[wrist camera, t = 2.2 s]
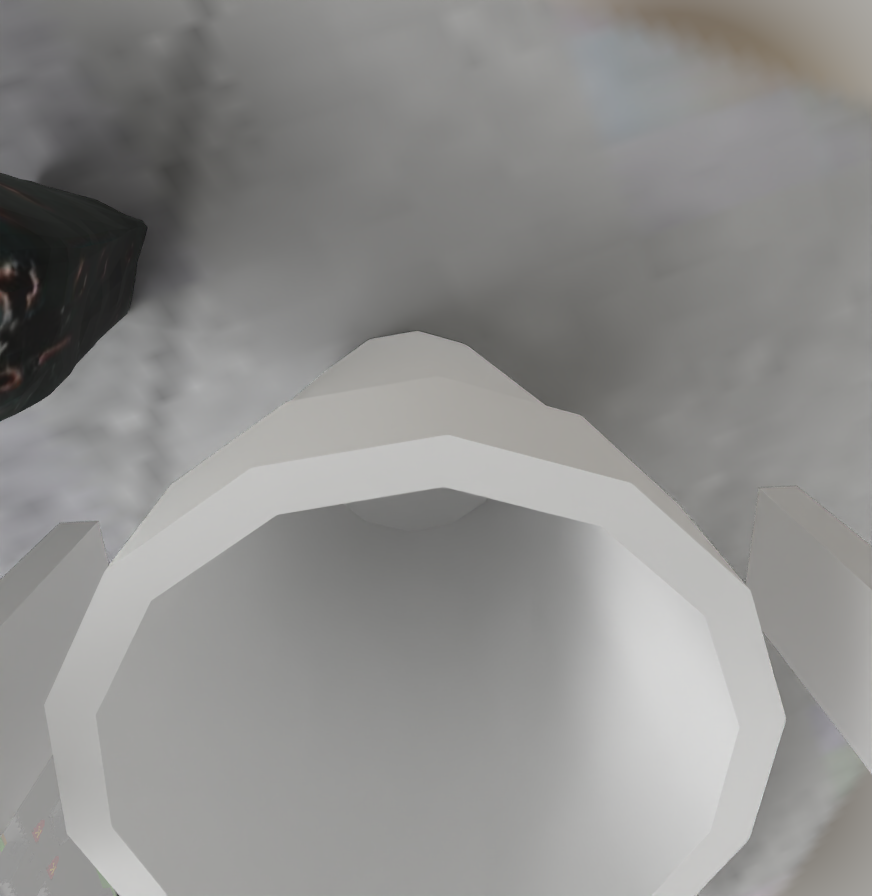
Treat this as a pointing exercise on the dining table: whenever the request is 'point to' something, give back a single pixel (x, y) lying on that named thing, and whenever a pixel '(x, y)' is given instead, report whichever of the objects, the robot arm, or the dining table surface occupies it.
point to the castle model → (45, 849)
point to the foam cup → (415, 659)
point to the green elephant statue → (57, 284)
